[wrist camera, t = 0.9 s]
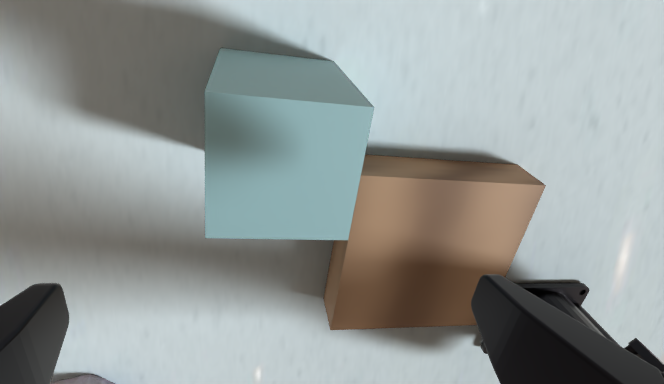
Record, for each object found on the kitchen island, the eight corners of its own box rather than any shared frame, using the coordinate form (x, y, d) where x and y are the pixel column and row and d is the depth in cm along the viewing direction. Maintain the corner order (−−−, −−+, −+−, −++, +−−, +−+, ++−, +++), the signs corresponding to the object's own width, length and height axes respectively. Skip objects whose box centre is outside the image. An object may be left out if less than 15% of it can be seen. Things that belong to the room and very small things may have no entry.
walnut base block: (513, 161, 23) (545, 185, 21) (462, 291, 28) (483, 324, 25) (347, 150, 21) (360, 175, 18) (322, 293, 26) (330, 330, 23)
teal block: (333, 60, 18) (374, 107, 12) (319, 160, 21) (347, 240, 15) (220, 47, 17) (204, 91, 11) (219, 154, 20) (205, 238, 14)
